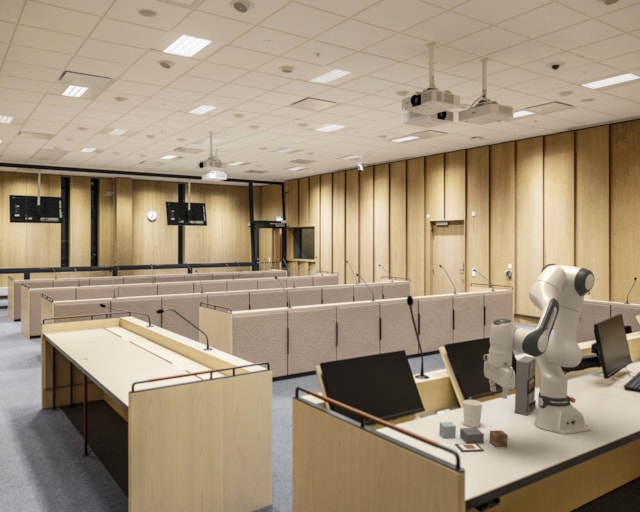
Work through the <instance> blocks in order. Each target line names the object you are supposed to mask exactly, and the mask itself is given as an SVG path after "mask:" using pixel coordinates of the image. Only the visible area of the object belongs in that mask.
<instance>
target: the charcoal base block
mask: <svg viewBox="0 0 640 512" xmlns="http://www.w3.org/2000/svg"><path fill="white" fill-rule="evenodd" d="M459 430H460V431H459V432H460V434H459V437H460V439H461V440H462V441H463V442H464V444H468V443H477V444H478V445H479V444H484V443H485V441H484V440H485V434H484V433H483V432H482V431H481V430H479V429H478V427H464V428H463V427H460V429H459Z"/></svg>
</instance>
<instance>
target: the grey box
mask: <svg viewBox="0 0 640 512" xmlns="http://www.w3.org/2000/svg"><path fill="white" fill-rule="evenodd" d="M536 365H537V362H536V360H535V358H534V357H533V356H529V355H527V356H526V355H524V356H523V357H521V358H519V359H518V360H516V366H515V367H516V368H515V371H516V372H515V396H514V397H515V399H514V402H515V403H514V413H515V414H520V415H525V416H529V414H530V413H532V412H533V411H534V410H535V409H536V403H537V401H536V399H535V397H536V396H535V395H536V393H535V392H536V368H537V367H536Z"/></svg>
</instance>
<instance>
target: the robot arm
mask: <svg viewBox="0 0 640 512" xmlns="http://www.w3.org/2000/svg"><path fill="white" fill-rule="evenodd" d="M594 284H595V275H594V273H593V271H592V270H590V269H587V268H584V267H578V266H574V265H567V264H557V263H548V264H546V265H545V266H543V268H542V269H541V272H540V273H539V275H538V276H537V278H536V279H535V280H534V282H533V283H532V285H531V287H530V289H529V292H528V297H529V299H530V302H531V303H532V304H533V305H534V306H535V307H536V308H537V309H539V310H540V311H542V312H541V315H540V318H539V320H538V324H537V326H536V327H535V328H533V329H529V328H528V329H527V328H525V327H520V326H518V325H516V324H515V323H513V321H512V320H510V319H508V318H498V319H495V320H493V321H492V323H491V326H490V330H489V345H490V346H489V349H488V353H486V354H484V355H483V360H484V363H483V375H484V377H485V378H487V379H488V383H489V386H490V387H489V389H490V391H491V392H496V391H497V386H496V385H498V386H500V387H501V389H502V392H501V393H500V397H501V398H502V399H503V400H505V399H508V393H509V392H510V391H511V390H513V391H514V390H516V372H515V370H514V369H513V366H512V365H513V351H516V352H519V353H522V354H526V355H527V356H530V357H534V358H535V360H536V365H537V369H538V372H539V373H538V374H539V392H538V398H537V399H538V401H537V402H538V409H537V415H536V418H535V421H534V425H535V426H536V427H538V428H540V429H542V430H545V431H548V432H549V431H550V432H555V433H558V434H562V435H568V434H575V433H576V432H577V433H583V432H590V431H591V427H590V426H589V424H587V423H585V417H584V415H583V413H581V412H580V411H579V409H577V408H576V407H574V406H573V405H572V404H575V403H576V401H577V399H576V398H574V397H570V396H569V395H568V377H567V375H566V374H565V372H564V371H563V369H562V368H575V367H578V365H580V364H581V362H582V360H583V352H582V349H581V347H580V346H579V344H578V339H577V330H578V325H579V322H580V318H581V314H582V310H583V308H584V307H583V306H584V300H585V296H586V294H588V293H589V292H590V291H591V290H592V289H593V287H594ZM552 331H553V337H552V336H551V335H552V334H551V333H552Z"/></svg>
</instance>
